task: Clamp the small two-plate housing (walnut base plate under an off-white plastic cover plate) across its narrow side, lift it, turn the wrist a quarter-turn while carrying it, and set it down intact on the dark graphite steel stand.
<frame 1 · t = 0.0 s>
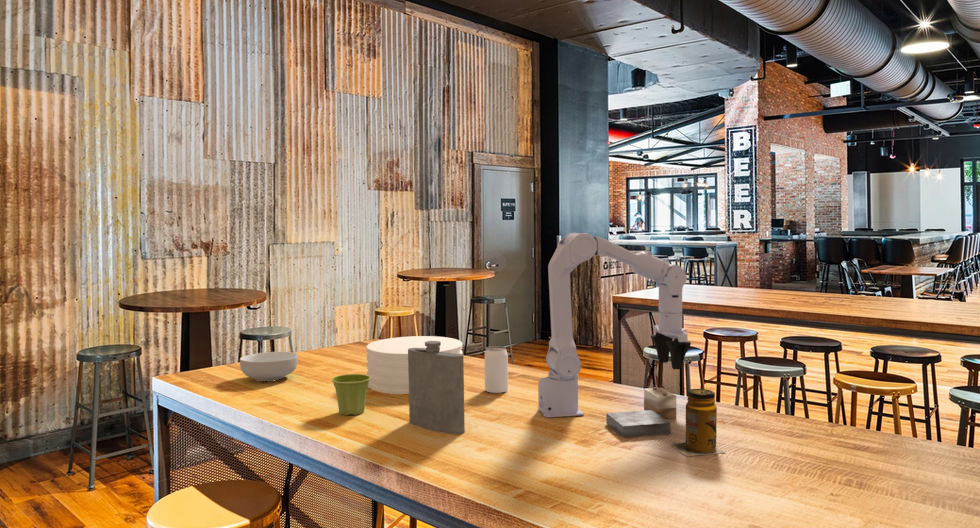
hand: (670, 365, 165), 10 cm above the table, fingers open, 7 cm apart
plant pot: (352, 413, 164), on the table
hip flask: (435, 428, 150), on the table
condiment: (696, 450, 134), on the table
can: (496, 391, 183), on the table
stand: (637, 428, 148), on the table
housing: (659, 415, 158), on the table
cereal bowl: (269, 379, 200), on the table
plate stack: (415, 383, 194), on the table
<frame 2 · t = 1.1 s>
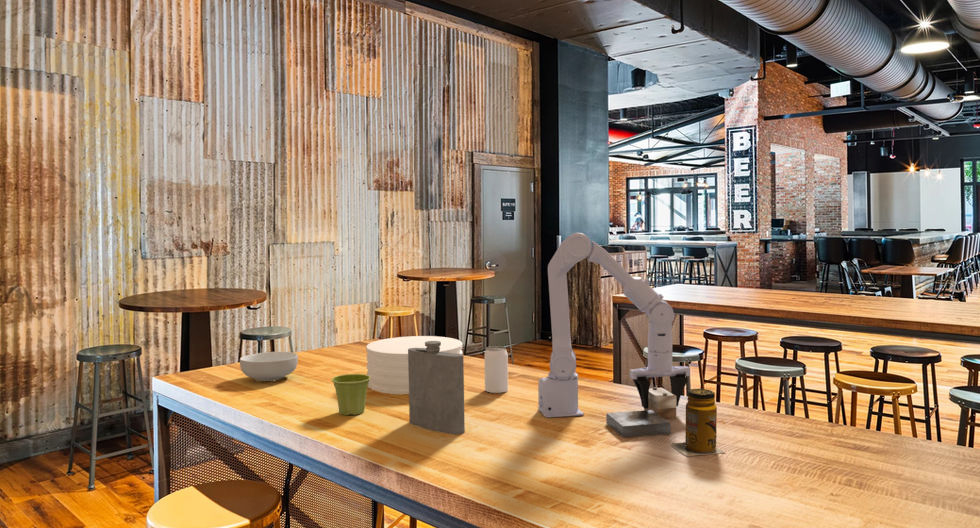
hand: (660, 406, 158), 2 cm above the table, fingers open, 7 cm apart
nothing on the table moved.
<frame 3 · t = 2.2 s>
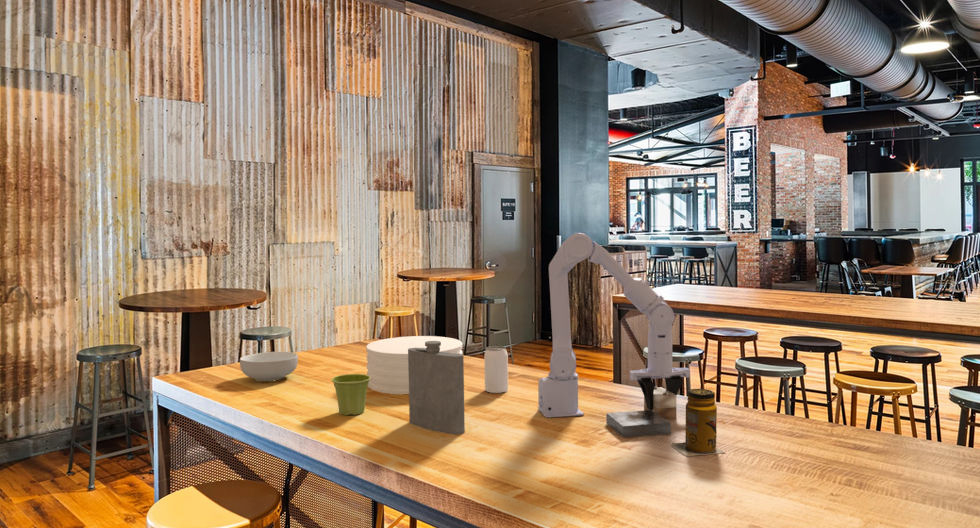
hand: (659, 407, 158), 2 cm above the table, fingers closed on housing, 5 cm apart
housing: (659, 414, 158), on the table, touching gripper
everything else where it was.
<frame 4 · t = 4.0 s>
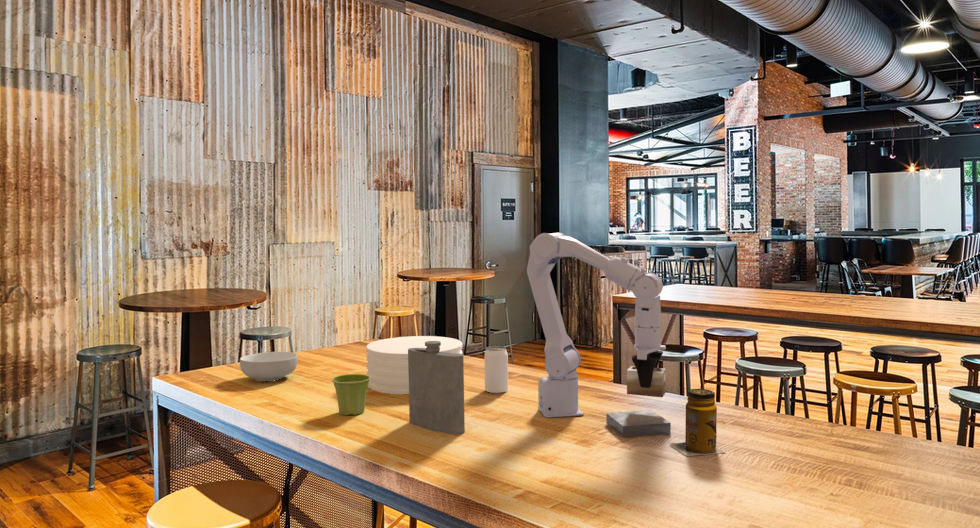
hand: (647, 384, 152), 9 cm above the table, fingers closed on housing, 5 cm apart
housing: (646, 393, 152), point 7 cm above the table, touching gripper
everything else where it was.
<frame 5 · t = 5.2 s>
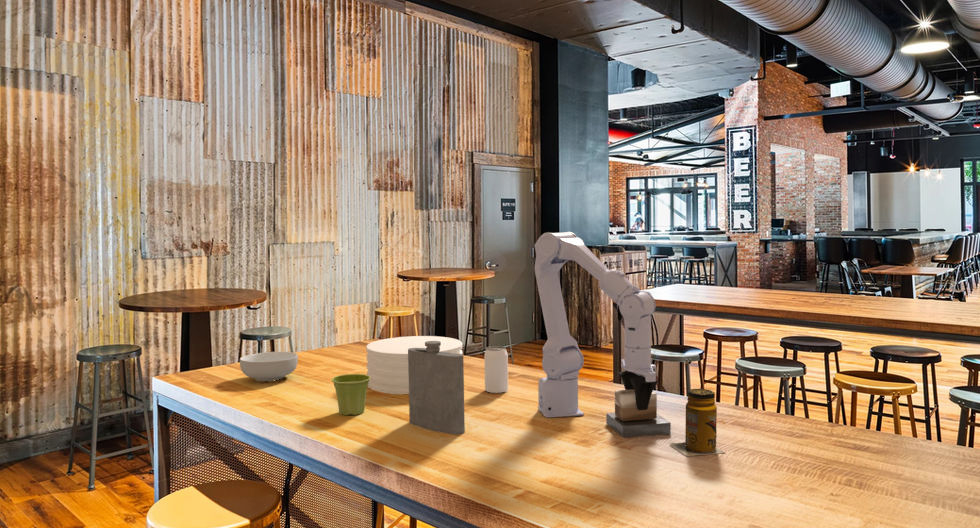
hand: (637, 406, 147), 5 cm above the table, fingers closed on housing, 5 cm apart
housing: (635, 416, 147), point 3 cm above the table, touching gripper
everything else where it was.
when the fingers open (5 cm above the table, at t = 6.0 s): housing stays where it is, resting on stand.
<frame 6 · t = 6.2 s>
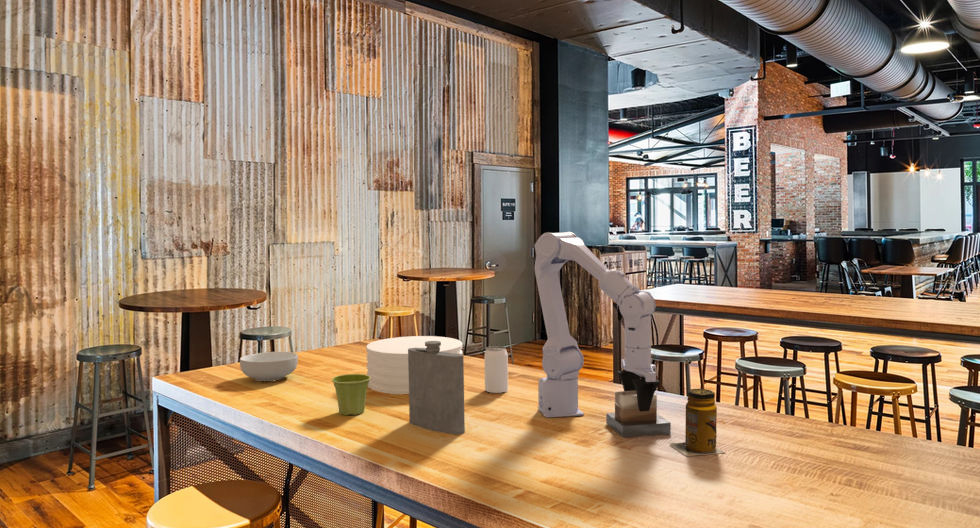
hand: (637, 406, 147), 5 cm above the table, fingers open, 7 cm apart
housing: (635, 417, 147), point 2 cm above the table, touching stand
everything else where it was.
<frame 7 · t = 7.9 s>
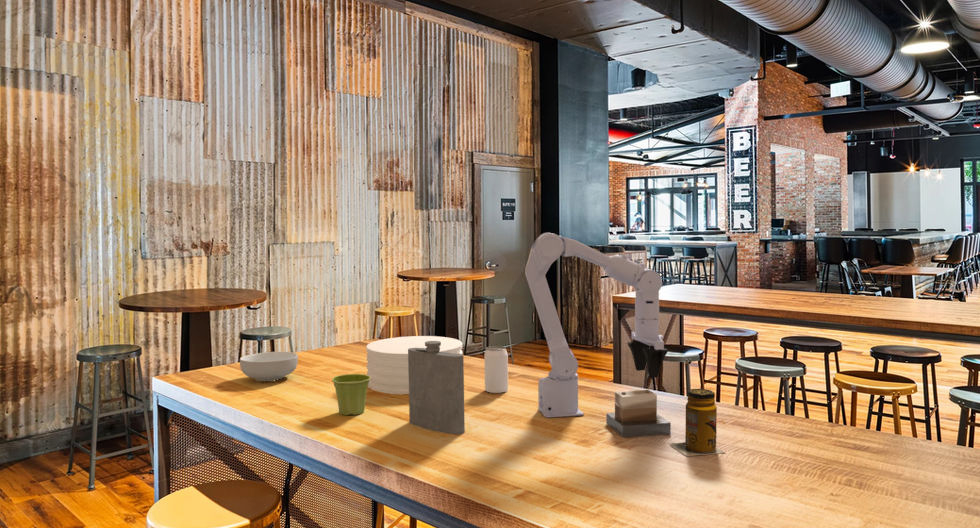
hand: (646, 373, 160), 9 cm above the table, fingers open, 7 cm apart
nothing on the table moved.
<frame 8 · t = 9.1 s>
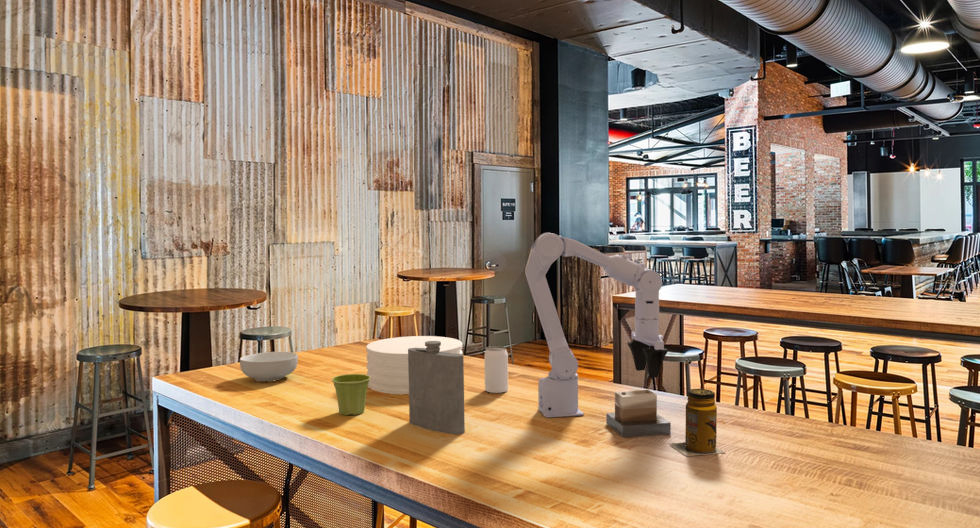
hand: (646, 373, 160), 9 cm above the table, fingers open, 7 cm apart
nothing on the table moved.
at the end: housing 0.5 cm off-centre on the stand, point 2.5 cm above the stand's base; housing tilted 0°; the gripper is holding nothing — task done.
